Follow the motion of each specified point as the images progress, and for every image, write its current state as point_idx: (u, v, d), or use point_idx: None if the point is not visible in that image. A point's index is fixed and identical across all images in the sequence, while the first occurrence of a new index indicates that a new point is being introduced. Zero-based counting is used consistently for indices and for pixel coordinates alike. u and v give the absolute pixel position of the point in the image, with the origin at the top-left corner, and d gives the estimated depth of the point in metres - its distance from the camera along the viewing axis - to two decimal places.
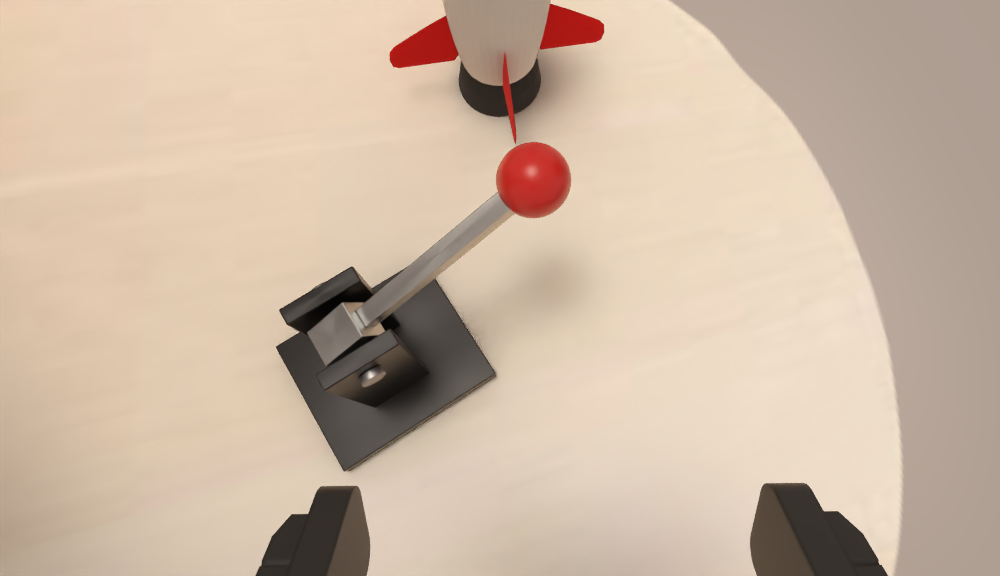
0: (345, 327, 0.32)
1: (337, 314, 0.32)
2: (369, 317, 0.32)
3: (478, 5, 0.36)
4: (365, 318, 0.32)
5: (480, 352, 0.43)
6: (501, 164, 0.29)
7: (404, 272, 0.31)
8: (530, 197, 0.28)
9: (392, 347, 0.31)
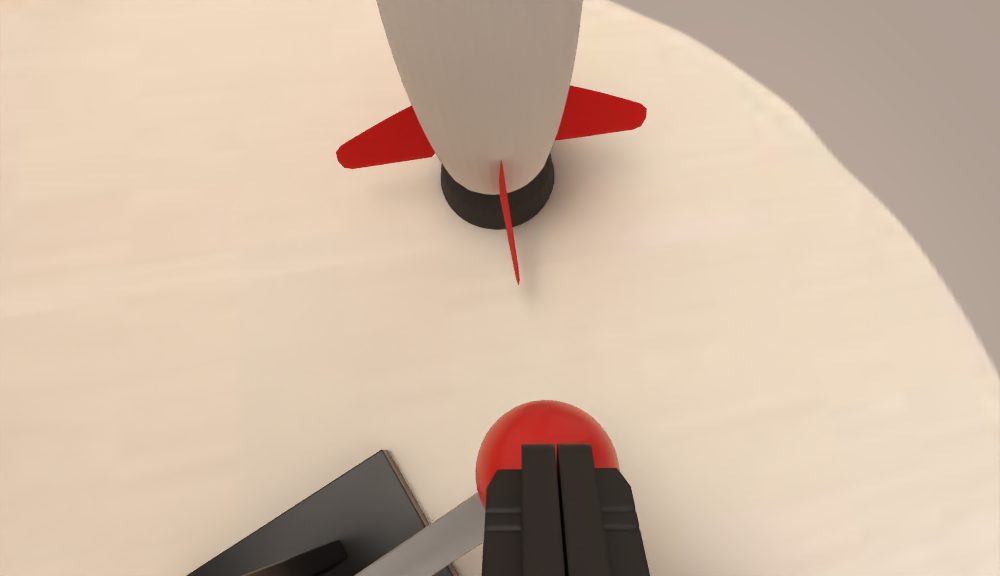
0: None
1: None
2: None
3: (455, 103, 0.23)
4: None
5: None
6: (484, 452, 0.15)
7: None
8: None
9: None
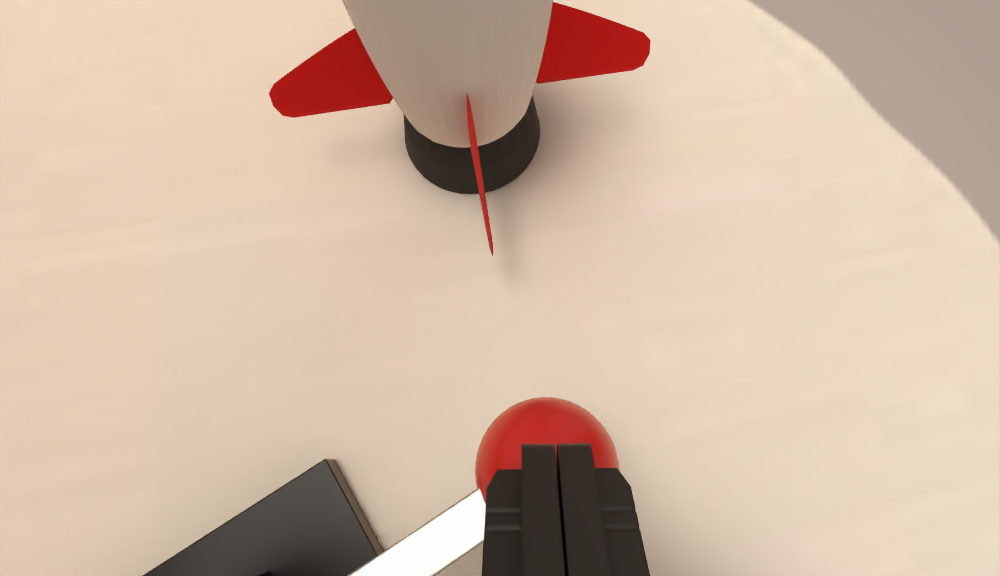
0: None
1: None
2: None
3: (396, 0, 0.17)
4: None
5: None
6: (500, 438, 0.15)
7: None
8: None
9: None
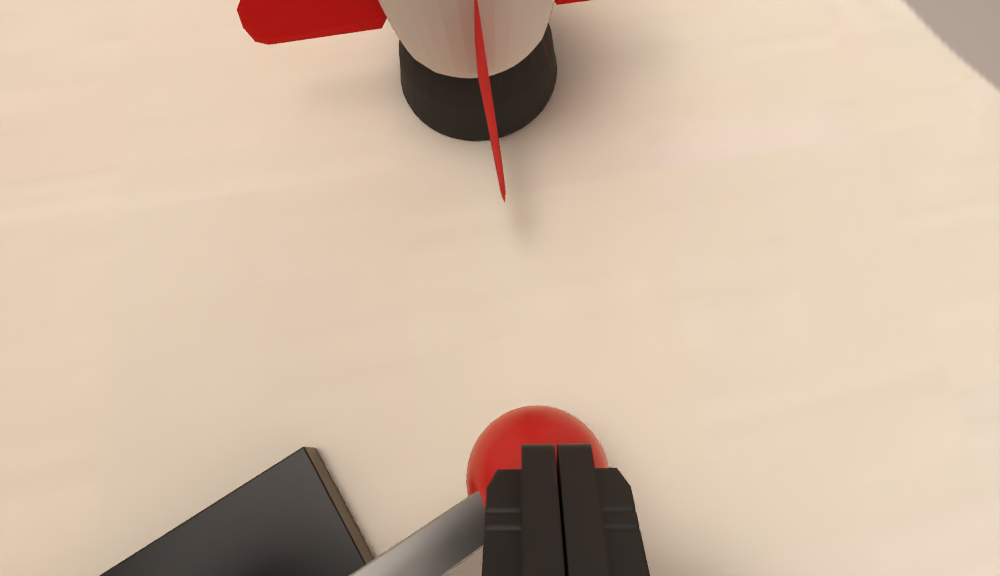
0: None
1: None
2: None
3: None
4: None
5: None
6: (506, 436, 0.15)
7: None
8: None
9: None
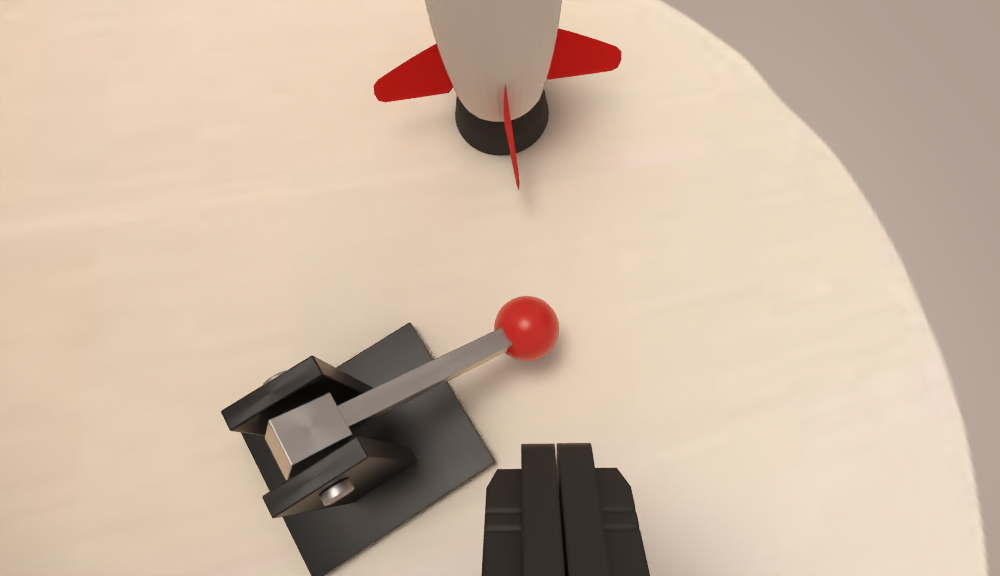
0: (329, 421, 0.26)
1: (320, 404, 0.27)
2: (351, 418, 0.27)
3: (471, 31, 0.30)
4: (346, 418, 0.27)
5: (477, 436, 0.36)
6: (514, 304, 0.33)
7: (402, 377, 0.29)
8: (542, 335, 0.33)
9: (358, 461, 0.25)
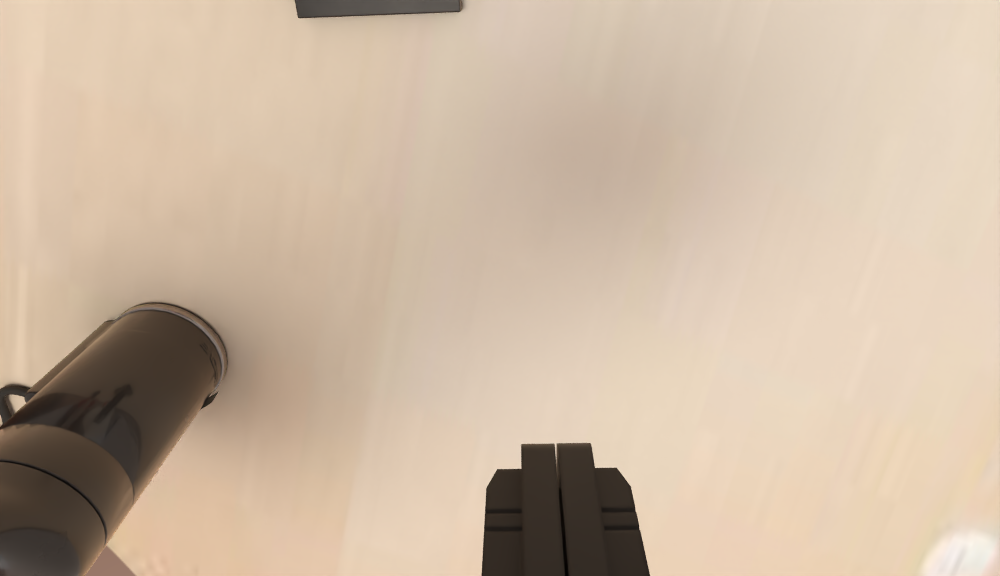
0: None
1: None
2: None
3: None
4: None
5: None
6: None
7: None
8: None
9: None
